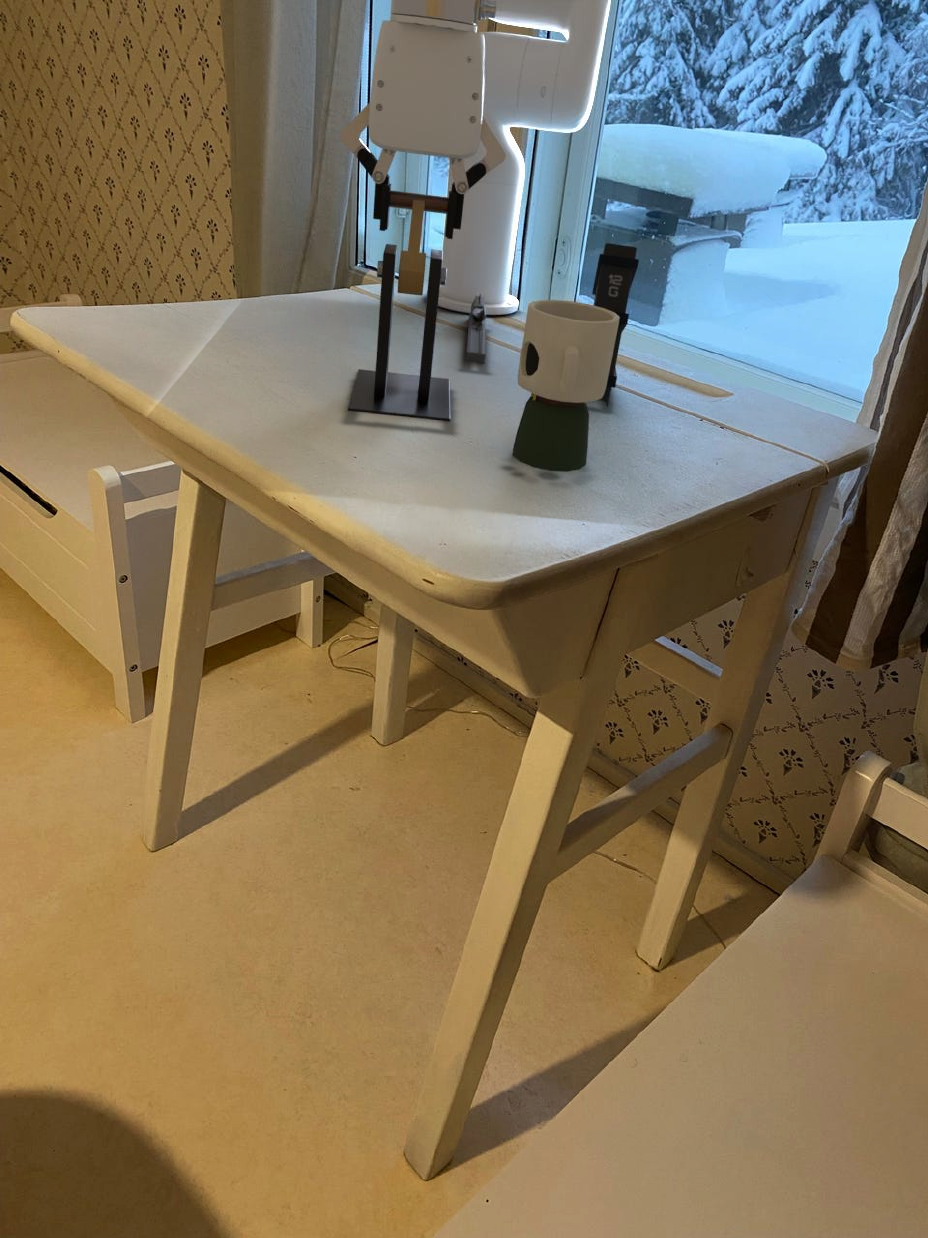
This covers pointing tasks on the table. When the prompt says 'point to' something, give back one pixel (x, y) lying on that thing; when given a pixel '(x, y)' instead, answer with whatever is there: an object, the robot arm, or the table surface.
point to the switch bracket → (381, 386)
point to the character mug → (562, 380)
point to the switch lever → (415, 237)
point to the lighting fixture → (476, 332)
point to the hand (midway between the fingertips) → (416, 230)
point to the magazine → (615, 293)
